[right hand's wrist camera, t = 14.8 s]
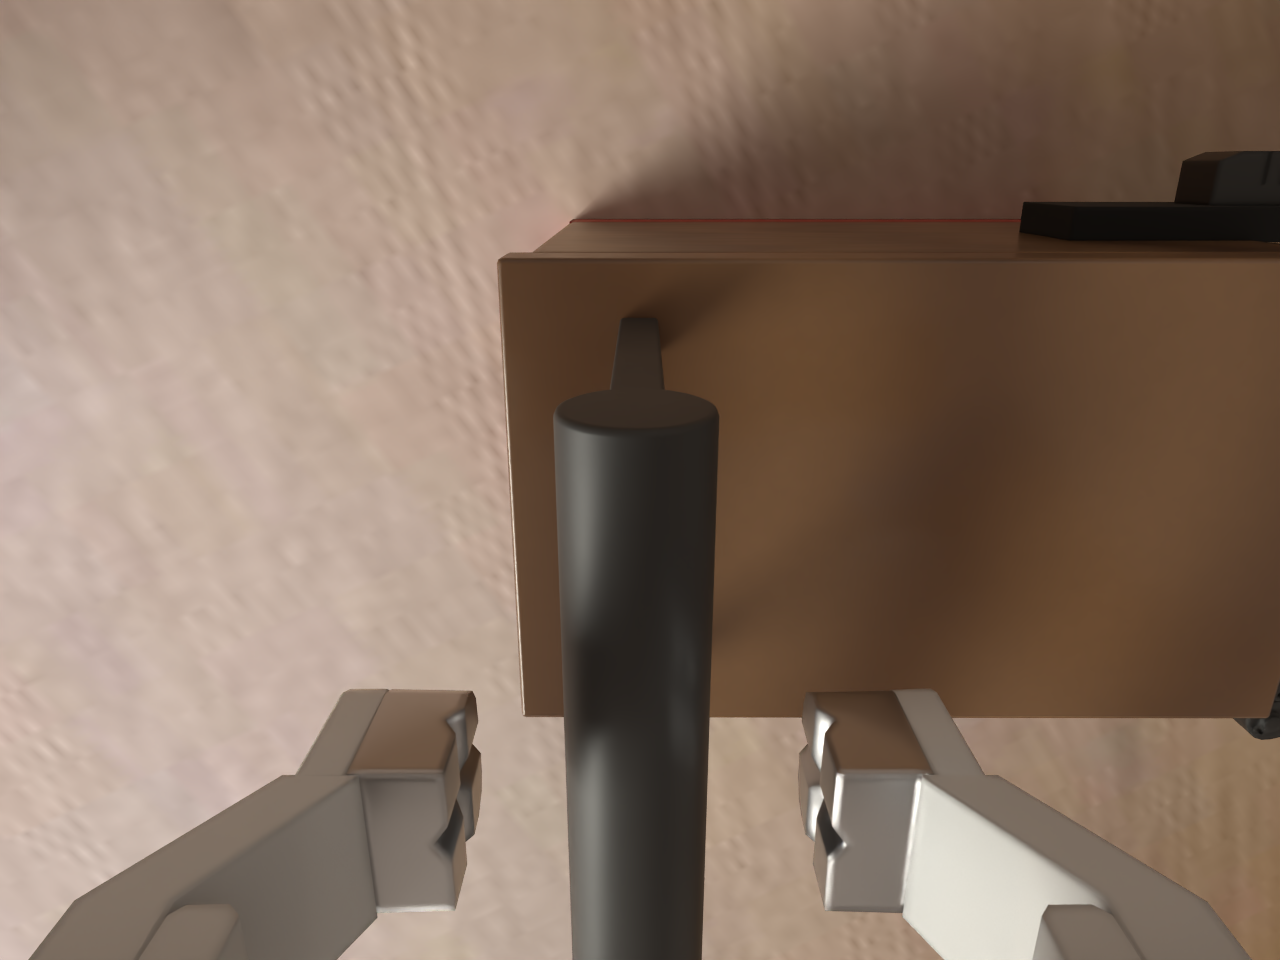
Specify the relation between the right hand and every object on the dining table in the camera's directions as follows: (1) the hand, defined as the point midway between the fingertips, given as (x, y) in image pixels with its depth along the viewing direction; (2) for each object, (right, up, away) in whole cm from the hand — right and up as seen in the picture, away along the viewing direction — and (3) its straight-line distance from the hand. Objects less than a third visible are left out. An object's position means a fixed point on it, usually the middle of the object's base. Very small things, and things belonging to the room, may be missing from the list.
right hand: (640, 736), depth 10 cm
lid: (+6, +3, +8) cm, 10 cm away
